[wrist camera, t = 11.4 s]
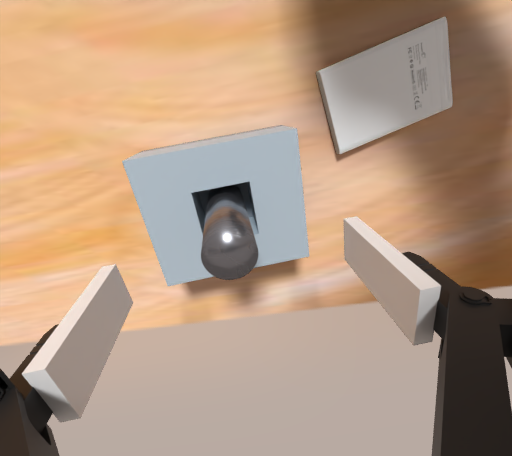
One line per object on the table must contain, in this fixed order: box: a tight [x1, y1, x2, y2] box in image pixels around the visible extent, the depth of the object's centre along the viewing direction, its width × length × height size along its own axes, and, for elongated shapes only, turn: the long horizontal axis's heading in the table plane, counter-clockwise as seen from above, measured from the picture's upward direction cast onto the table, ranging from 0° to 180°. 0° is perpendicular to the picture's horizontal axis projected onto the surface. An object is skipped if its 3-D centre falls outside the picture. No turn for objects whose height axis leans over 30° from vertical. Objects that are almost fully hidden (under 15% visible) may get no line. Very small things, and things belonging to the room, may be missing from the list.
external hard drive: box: [316, 17, 453, 154], centre depth 27 cm, size 2×8×12 cm
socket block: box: [122, 125, 309, 286], centre depth 26 cm, size 12×14×6 cm
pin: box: [201, 185, 258, 280], centre depth 22 cm, size 4×4×12 cm
